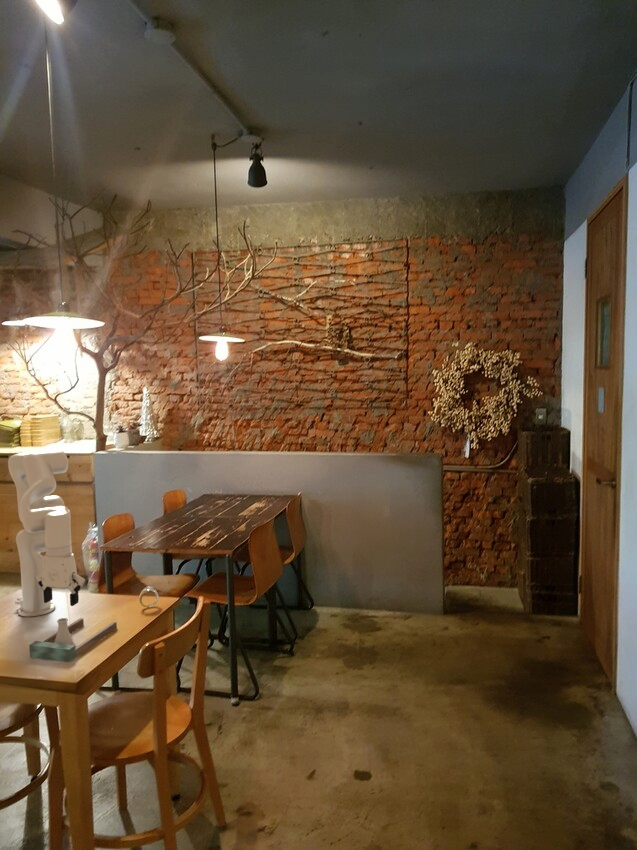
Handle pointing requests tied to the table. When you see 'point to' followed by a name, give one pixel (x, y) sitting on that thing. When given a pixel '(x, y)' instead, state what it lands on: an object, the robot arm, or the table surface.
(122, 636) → the table surface
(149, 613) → the table surface
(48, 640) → the guide channel
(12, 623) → the table surface
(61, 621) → the flask
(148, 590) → the ring
